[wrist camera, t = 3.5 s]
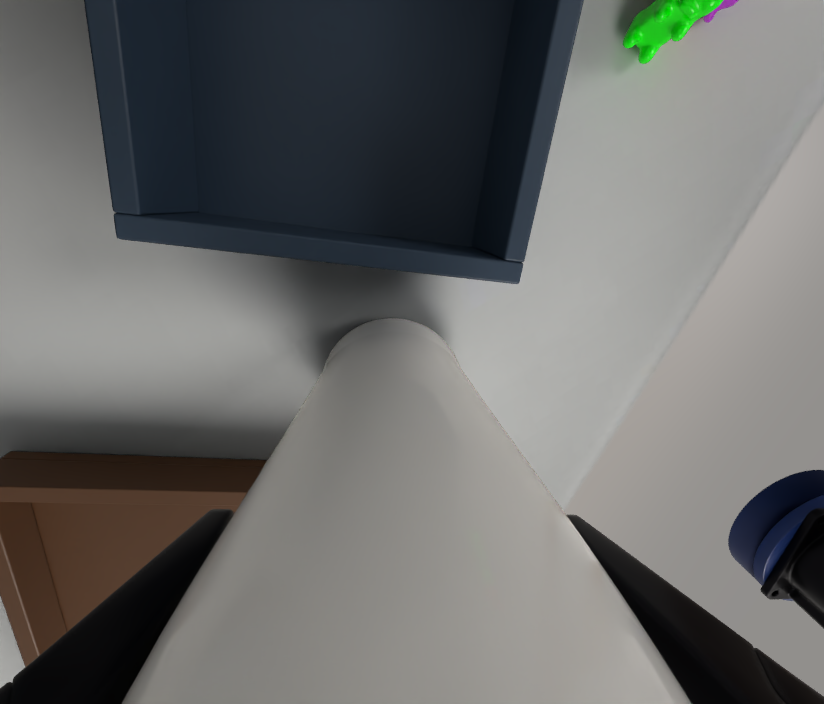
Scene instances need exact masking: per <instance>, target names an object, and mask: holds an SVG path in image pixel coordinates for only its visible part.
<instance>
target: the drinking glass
mask: <svg viewBox="0 0 824 704" xmlns="http://www.w3.org/2000/svg"><path fill="white" fill-rule="evenodd" d="M121 704H692V702H691V701H690V699H689V698H688V696H687V694H686V693H685V691H684V690H683V688H682V687H681V685H680V683H679V682H678V680H677V679H676V677H675V675H674V674H673V672H672V671H671V669H670V667H669V666H668V664H667V663H666V661H665V659H664V658H663V656H662V655H661V653H660V652H659V650H658V649H657V647H656V646H655V644H654V643H653V641H652V639H651V638H650V636H649V635H648V633H647V632H646V630H645V629H644V627H643V626H642V624H641V623H640V621H639V620H638V618H637V616H636V615H635V613H634V612H633V610H632V609H631V607H630V606H629V604H628V603H627V601H626V600H625V598H624V597H623V595H622V594H621V592H620V591H619V590H618V588H617V587H616V585H615V584H614V582H613V581H612V579H611V578H610V576H609V575H608V573H607V572H606V570H605V569H604V567H603V566H602V565H601V563H600V562H599V560H598V559H597V557H596V556H595V555H594V553H593V552H592V550H591V549H590V548H589V546H588V545H587V543H586V542H585V541H584V539H583V538H582V536H581V535H580V533H579V532H578V531H577V529H576V528H575V526H574V525H573V524H572V522H571V521H570V519H569V518H568V517H567V515H566V514H565V512H564V511H563V510H562V508H561V507H560V506H559V504H558V503H557V501H556V500H555V499H554V497H553V496H552V495H551V493H550V492H549V490H548V489H547V488H546V486H545V485H544V484H543V482H542V481H541V479H540V478H539V477H538V475H537V474H536V473H535V471H534V470H533V468H532V467H531V466H530V464H529V463H528V462H527V460H526V459H525V457H524V456H523V455H522V453H521V452H520V451H519V449H518V448H517V446H516V445H515V444H514V442H513V441H512V440H511V438H510V437H509V435H508V434H507V433H506V431H505V430H504V428H503V427H502V426H501V424H500V423H499V422H498V420H497V419H496V417H495V416H494V415H493V413H492V412H491V410H490V409H489V408H488V406H487V405H486V403H485V402H484V401H483V399H482V398H481V396H480V395H479V394H478V392H477V391H476V389H475V388H474V386H473V385H472V384H471V382H470V381H469V379H468V378H467V376H466V375H465V374H464V372H463V371H462V369H461V368H460V365H459V363H458V361H457V359H456V357H455V355H454V353H453V352H452V350H451V348H450V347H449V346H448V344H447V343H446V342H445V341H444V340H443V339H442V338H441V337H440V336H439V335H438V334H437V333H435V332H434V331H433V330H431V329H430V328H428V327H426V326H424V325H422V324H420V323H417V322H414V321H410V320H406V319H400V318H385V319H378V320H374V321H370V322H367V323H364V324H362V325H360V326H358V327H356V328H354V329H353V330H351V331H350V332H349V333H347V334H346V335H345V336H344V337H343V338H341V340H340V341H339V342H338V343H337V344H336V345H335V347H334V348H333V349H332V351H331V353H330V354H329V356H328V358H327V360H326V363H325V365H324V368H323V370H322V373H321V375H320V377H319V378H318V380H317V382H316V383H315V385H314V386H313V388H312V390H311V391H310V393H309V395H308V396H307V398H306V400H305V401H304V403H303V404H302V406H301V408H300V409H299V411H298V412H297V414H296V416H295V417H294V419H293V420H292V422H291V424H290V425H289V427H288V428H287V430H286V432H285V433H284V435H283V436H282V438H281V440H280V441H279V443H278V444H277V446H276V448H275V449H274V451H273V452H272V454H271V455H270V457H269V459H268V460H267V462H266V463H265V465H264V466H263V468H262V470H261V471H260V473H259V474H258V476H257V478H256V479H255V481H254V482H253V484H252V485H251V487H250V489H249V490H248V492H247V493H246V495H245V497H244V498H243V500H242V501H241V503H240V504H239V506H238V508H237V509H236V511H235V512H234V514H233V516H232V517H231V519H230V520H229V522H228V523H227V525H226V527H225V528H224V530H223V531H222V533H221V535H220V536H219V538H218V539H217V541H216V543H215V544H214V546H213V548H212V549H211V551H210V552H209V554H208V556H207V557H206V559H205V561H204V562H203V564H202V565H201V567H200V569H199V570H198V572H197V573H196V575H195V577H194V578H193V580H192V582H191V583H190V585H189V587H188V588H187V590H186V592H185V594H184V595H183V597H182V599H181V600H180V602H179V604H178V605H177V607H176V609H175V610H174V612H173V614H172V616H171V617H170V619H169V621H168V622H167V624H166V626H165V627H164V629H163V631H162V633H161V634H160V636H159V638H158V639H157V641H156V643H155V644H154V646H153V648H152V650H151V651H150V653H149V655H148V657H147V658H146V660H145V662H144V664H143V666H142V667H141V669H140V671H139V673H138V674H137V676H136V678H135V680H134V682H133V683H132V685H131V687H130V689H129V690H128V692H127V694H126V696H125V698H124V699H123V701H122V703H121Z"/></svg>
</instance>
